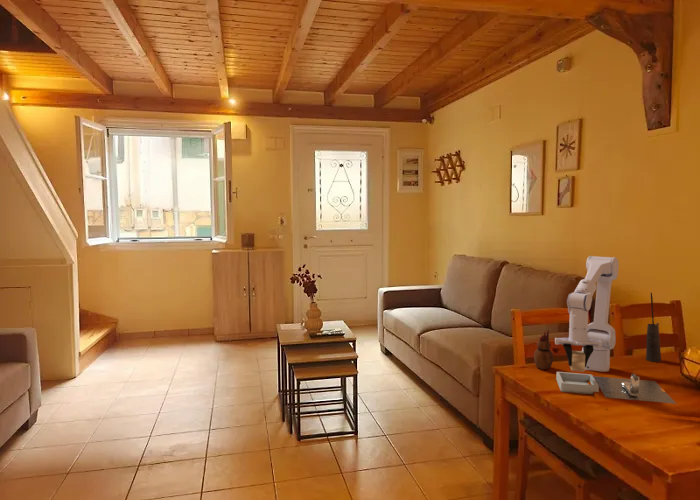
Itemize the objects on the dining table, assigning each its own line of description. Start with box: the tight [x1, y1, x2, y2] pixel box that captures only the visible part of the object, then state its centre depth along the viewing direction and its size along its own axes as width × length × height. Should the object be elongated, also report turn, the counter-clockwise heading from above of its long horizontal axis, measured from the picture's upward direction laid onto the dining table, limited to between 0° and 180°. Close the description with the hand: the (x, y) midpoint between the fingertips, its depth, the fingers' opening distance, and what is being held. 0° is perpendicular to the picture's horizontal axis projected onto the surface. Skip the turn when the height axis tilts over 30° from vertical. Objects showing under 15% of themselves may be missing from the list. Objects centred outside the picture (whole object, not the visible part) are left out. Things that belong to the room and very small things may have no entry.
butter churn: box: [645, 292, 662, 363], centre depth 192 cm, size 9×10×28 cm
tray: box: [555, 371, 600, 395], centre depth 165 cm, size 12×12×3 cm
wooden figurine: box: [533, 330, 554, 370], centre depth 184 cm, size 7×6×15 cm
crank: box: [621, 373, 640, 396], centre depth 157 cm, size 12×4×7 cm, turn 164°
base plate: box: [592, 375, 677, 405], centre depth 160 cm, size 20×20×1 cm
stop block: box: [569, 350, 586, 373], centre depth 164 cm, size 4×4×6 cm
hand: (577, 365), depth 164 cm, fingers closed on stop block, 4 cm apart
